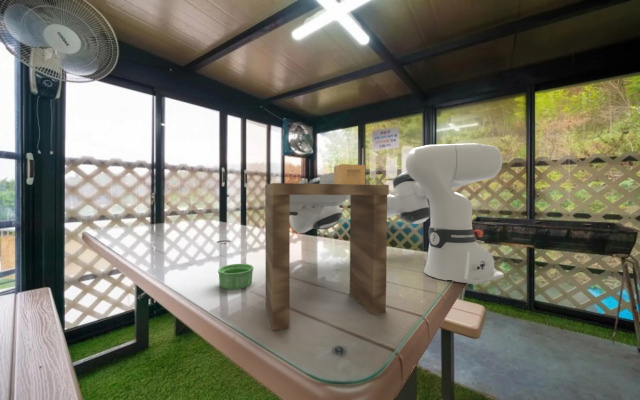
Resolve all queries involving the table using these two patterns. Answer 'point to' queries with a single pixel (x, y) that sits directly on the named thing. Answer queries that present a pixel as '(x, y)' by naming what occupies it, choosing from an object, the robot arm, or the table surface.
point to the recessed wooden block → (345, 175)
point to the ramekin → (235, 276)
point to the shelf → (364, 244)
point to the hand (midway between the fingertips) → (321, 181)
